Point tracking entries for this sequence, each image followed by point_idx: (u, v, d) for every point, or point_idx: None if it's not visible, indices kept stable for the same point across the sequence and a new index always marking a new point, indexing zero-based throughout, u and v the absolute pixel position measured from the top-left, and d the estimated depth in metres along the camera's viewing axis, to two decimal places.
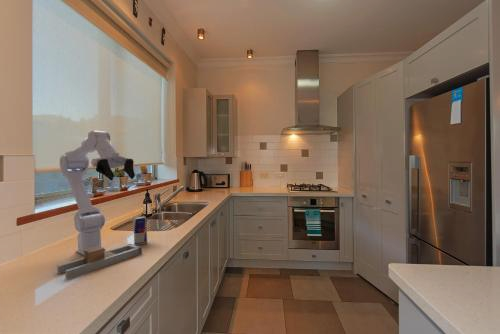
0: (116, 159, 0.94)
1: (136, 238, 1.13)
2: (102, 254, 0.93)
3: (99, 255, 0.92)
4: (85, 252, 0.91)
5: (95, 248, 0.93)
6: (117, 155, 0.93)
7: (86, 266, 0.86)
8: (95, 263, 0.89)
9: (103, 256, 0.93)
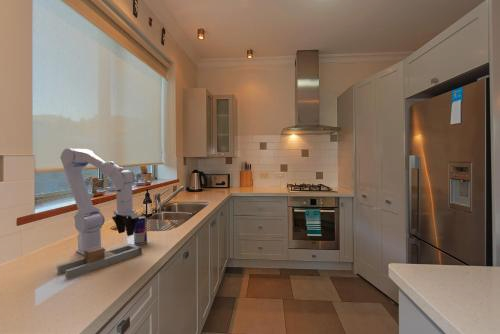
0: None
1: (136, 238, 1.13)
2: (102, 254, 0.93)
3: (99, 255, 0.92)
4: (85, 252, 0.91)
5: (95, 248, 0.93)
6: None
7: (86, 266, 0.86)
8: (95, 263, 0.89)
9: (103, 256, 0.93)
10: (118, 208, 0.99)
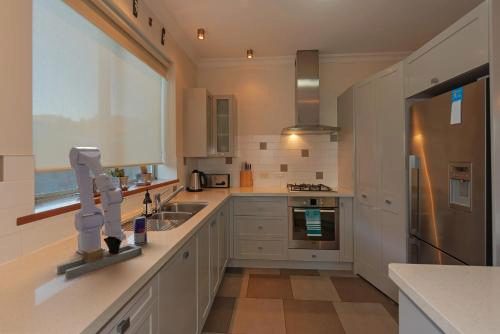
0: None
1: (136, 238, 1.13)
2: (101, 254, 0.92)
3: (97, 256, 0.91)
4: (83, 253, 0.90)
5: (93, 249, 0.92)
6: None
7: (86, 266, 0.86)
8: (95, 263, 0.89)
9: (102, 256, 0.92)
10: (106, 229, 0.96)
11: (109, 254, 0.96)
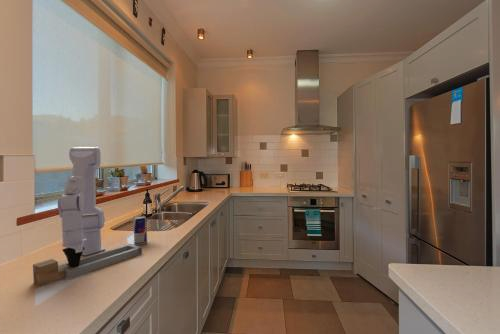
0: None
1: (136, 238, 1.13)
2: (55, 268, 0.81)
3: (51, 270, 0.80)
4: (34, 267, 0.79)
5: (47, 262, 0.81)
6: None
7: (86, 266, 0.86)
8: (95, 263, 0.89)
9: (57, 271, 0.81)
10: (63, 239, 0.85)
11: (67, 267, 0.85)
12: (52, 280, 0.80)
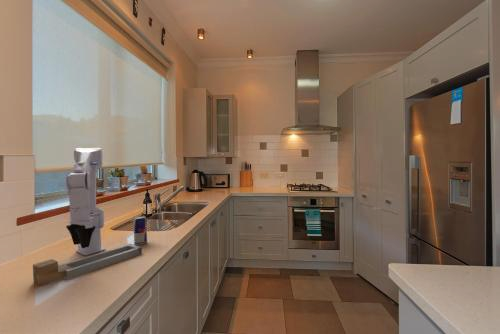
0: None
1: (136, 238, 1.13)
2: (55, 269, 0.81)
3: (51, 270, 0.80)
4: (34, 267, 0.79)
5: (47, 262, 0.81)
6: None
7: (86, 266, 0.86)
8: (95, 263, 0.89)
9: (57, 271, 0.81)
10: (71, 216, 0.86)
11: (67, 267, 0.85)
12: (52, 280, 0.80)
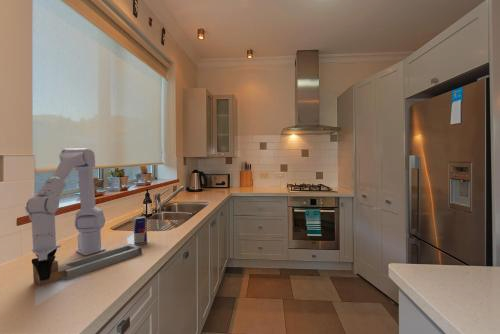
0: None
1: (136, 238, 1.13)
2: (55, 268, 0.81)
3: (51, 269, 0.80)
4: (34, 267, 0.79)
5: None
6: None
7: (86, 266, 0.86)
8: (95, 263, 0.89)
9: (56, 270, 0.81)
10: None
11: (66, 267, 0.85)
12: (52, 279, 0.80)
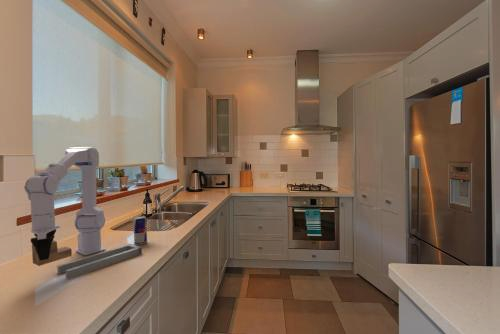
0: None
1: (136, 238, 1.13)
2: (54, 249, 0.81)
3: (50, 250, 0.80)
4: (33, 247, 0.79)
5: None
6: None
7: (86, 266, 0.86)
8: (95, 263, 0.89)
9: (56, 251, 0.81)
10: None
11: (66, 248, 0.85)
12: (51, 260, 0.80)
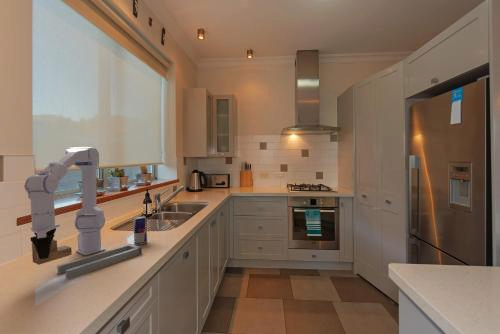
0: None
1: (136, 238, 1.13)
2: (54, 247, 0.81)
3: (50, 249, 0.80)
4: (33, 245, 0.79)
5: None
6: (56, 226, 0.83)
7: (86, 266, 0.86)
8: (95, 263, 0.89)
9: (56, 250, 0.81)
10: None
11: (66, 247, 0.85)
12: (51, 258, 0.80)
